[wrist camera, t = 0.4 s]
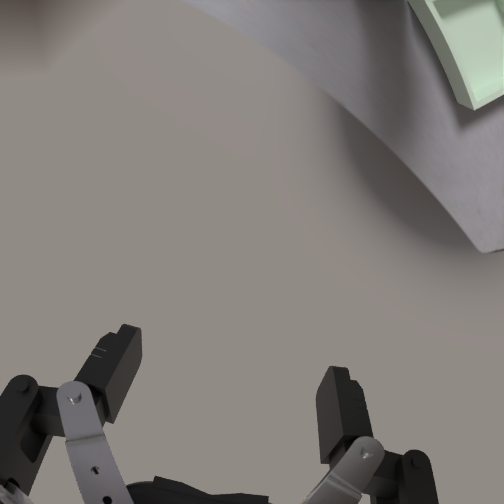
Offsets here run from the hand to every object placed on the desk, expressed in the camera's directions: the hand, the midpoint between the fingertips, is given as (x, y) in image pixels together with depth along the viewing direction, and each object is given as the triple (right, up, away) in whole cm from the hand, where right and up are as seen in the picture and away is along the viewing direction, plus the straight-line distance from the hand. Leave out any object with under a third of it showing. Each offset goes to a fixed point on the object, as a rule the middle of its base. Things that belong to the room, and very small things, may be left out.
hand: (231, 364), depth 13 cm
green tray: (+28, +31, +11) cm, 43 cm away
